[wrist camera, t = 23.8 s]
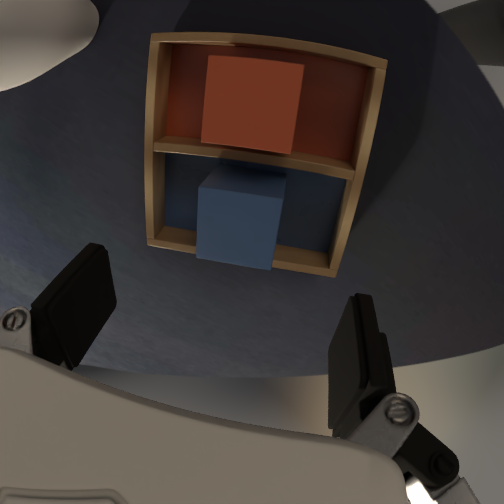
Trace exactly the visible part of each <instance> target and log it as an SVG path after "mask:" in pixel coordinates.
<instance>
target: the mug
mask: <svg viewBox="0 0 504 504" xmlns="http://www.w3.org/2000/svg"><path fill="white" fill-rule="evenodd" d="M98 25H99V14H98V11H97V8H96V7H95V6H94V4H93V3H92V2H91V1H90V0H0V91H4V90H7V89H10V88H13V87H16V86H19V85H22V84H24V83H26V82H29V81H31V80H33V79H34V78H36V77H38V76H40V75H42V74H43V73H45V72H47V71H48V70H50V69H51V68H53V67H54V66H56V65H58V64H59V63H61V62H62V61H64V60H65V59H67V58H69V57H70V56H72V55H74V54H75V53H77V52H79V51H81V50H82V49H84V48H85V47H86V46H87V45H88V44H89V43H90V42H91V40H92V39H93V37H94V36H95V34H96V31H97V29H98Z"/></svg>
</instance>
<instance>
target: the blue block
mask: <svg viewBox="0 0 504 504" xmlns="http://www.w3.org/2000/svg"><path fill="white" fill-rule="evenodd" d="M285 184H286V174H283V173H277V172H271V171H265V170H258V169H251V168H244V167H237V166H230V165H222V164H218V165H217V166H216V167H215V168H214V169H213V171H212V172H211V173H210V174H209V175H208V176H207V177H206V179H205V180H204V181H203V182H202V183H201V185H200V186H199V188H198V210H197V238H196V257H197V258H201V259H207V260H213V261H218V262H224V263H230V264H236V265H241V266H247V267H253V268H259V269H265V270H271V269H272V263H273V258H274V252H275V247H276V241H277V235H278V230H279V224H280V218H281V212H282V207H283V201H284V193H285Z"/></svg>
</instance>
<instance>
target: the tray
mask: <svg viewBox="0 0 504 504" xmlns="http://www.w3.org/2000/svg"><path fill="white" fill-rule="evenodd" d="M209 55H217V56H233V57H246V58H256V59H265V60H274V61H281V62H288V63H295V64H301V65H304V66H305V67H304V74H303V80H302V87H301V94H300V100H299V107H298V113H297V120H296V126H295V132H294V139H293V145H292V151H291V154H285V153H279V152H273V151H266V150H259V149H252V148H245V147H238V146H230V145H221V144H212V143H203V142H201V134H202V121H203V109H204V98H205V87H206V77H207V67H208V58H209ZM387 63H388V60H386V59H382V58H379V57H375V56H372V55H368V54H364V53H360V52H356V51H352V50H348V49H343V48H339V47H334V46H329V45H324V44H319V43H314V42H308V41H302V40H295V39H288V38H281V37H273V36H264V35H253V34H240V33H222V32H167V33H152V34H151V43H150V51H149V62H148V75H147V91H146V111H145V210H146V231H147V245H150V246H156V247H161V248H167V249H172V250H178V251H183V252H189V253H195V254H196V238H197V210H198V188H199V186H200V185H201V183H202V182H203V181H204V180H205V179H206V177H207V176H208V175H209V174H210V173H211V172H212V171H213V169H214V168H215V167H216V166H217V165H218V164H222V165H230V166H237V167H244V168H251V169H258V170H265V171H271V172H277V173H283V174H286V184H285V193H284V201H283V207H282V212H281V218H280V224H279V230H278V235H277V241H276V247H275V252H274V258H273V263H272V267H275V268H281V269H287V270H293V271H299V272H305V273H311V274H317V275H323V276H329V277H336V275H337V271H338V268H339V265H340V262H341V259H342V256H343V252H344V249H345V246H346V242H347V239H348V235H349V232H350V228H351V225H352V221H353V218H354V214H355V211H356V207H357V203H358V199H359V196H360V192H361V188H362V184H363V180H364V176H365V172H366V168H367V164H368V159H369V155H370V151H371V146H372V142H373V137H374V133H375V128H376V123H377V118H378V113H379V108H380V103H381V98H382V92H383V87H384V81H385V75H386V69H387Z"/></svg>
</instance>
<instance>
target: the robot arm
mask: <svg viewBox="0 0 504 504" xmlns="http://www.w3.org/2000/svg"><path fill="white" fill-rule="evenodd" d="M116 304H117V300H116V295H115V290H114V285H113V279H112V274H111V268H110V262H109V256H108V251H107V250H106V249H105V247H104V246H103V245H100V244H95V243H89V244H88V245H87V246H86V247H85V248H84V249H83V250H82V251H81V252H80V253H79V254H78V255H77V256H76V257H75V258H74V259H73V260H72V261H71V262H70V263H69V264H68V265H67V266H66V267H65V268H64V269H63V270H62V271H61V272H60V273H59V274H58V275H57V276H56V277H55V278H54V280H53V281H52V282H51V283H50V284H49V285H48V286H47V287H46V288H45V289H44V290H43V292H42V293H41V294H40V295H39V296H38V297H37V298H36V299H35V301H34V302H33V303H32V304H31V307H32V309H31V310H30V311H29V310H28V309H26V308H25V307H20V306H19V307H14V308H11V309H9V310H7V311H6V312H5V313H4V314H3V315H2V317H1V318H0V504H408V501H410V502H411V503H412V504H480V502H479V501H478V499H477V497H476V496H475V494H474V493H473V491H472V489H471V488H470V486H469V485H468V483H467V481H466V480H465V478H464V477H463V478H460V477H459V475H458V472H459V461H458V459H457V456H456V455H455V454H454V453H453V451H451V450H450V449H449V448H448V447H447V446H446V445H444V444H443V443H442V442H441V441H440V440H438V439H437V438H436V437H435V436H434V435H433V434H431V433H430V432H429V431H428V430H427V429H426V428H424V427H423V426H422V425H421V424H420V423H418V420H419V408H418V406H417V404H416V403H415V401H414V400H413V399H412V398H411V397H409V396H407V395H406V394H402V393H396V387H395V380H394V374H393V368H392V363H391V357H390V352H389V347H388V342H387V337H386V335H385V334H384V333H380V332H379V328H378V323H377V318H376V313H375V309H374V304H373V299H372V296H371V295H366V294H360V293H356V294H355V296H350V297H349V299H348V302H347V304H346V307H345V309H344V312H343V314H342V317H341V319H340V322H339V324H338V327H337V329H336V331H335V334H334V336H333V339H332V341H331V343H330V346H329V351H328V376H329V377H328V378H329V396H328V399H329V401H328V408H329V409H328V428H329V429H333V434H332V437H330V436H323V435H316V434H310V433H301V432H294V431H288V430H281V429H275V428H269V427H263V426H257V425H252V424H246V423H241V422H236V421H231V420H226V419H222V418H217V417H213V416H208V415H204V414H200V413H196V412H192V411H188V410H184V409H180V408H177V407H173V406H170V405H166V404H163V403H159V402H156V401H153V400H149V399H146V398H143V397H140V396H136V395H134V394H131V393H127V392H124V391H122V390H119V389H116V388H113V387H110V386H108V385H105V384H102V383H99V382H97V381H94V380H92V379H89V378H87V377H84V376H81V375H79V374H77V373H74V372H72V370H73V368H74V367H77V366H78V365H79V363H80V362H81V360H82V359H83V357H84V355H85V354H86V352H87V351H88V349H89V347H90V346H91V344H92V343H93V341H94V340H95V338H96V337H97V335H98V333H99V332H100V330H101V329H102V327H103V326H104V324H105V323H106V321H107V320H108V318H109V317H110V315H111V314H112V312H113V311H114V309H115V307H116ZM336 437H340V438H336Z"/></svg>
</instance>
